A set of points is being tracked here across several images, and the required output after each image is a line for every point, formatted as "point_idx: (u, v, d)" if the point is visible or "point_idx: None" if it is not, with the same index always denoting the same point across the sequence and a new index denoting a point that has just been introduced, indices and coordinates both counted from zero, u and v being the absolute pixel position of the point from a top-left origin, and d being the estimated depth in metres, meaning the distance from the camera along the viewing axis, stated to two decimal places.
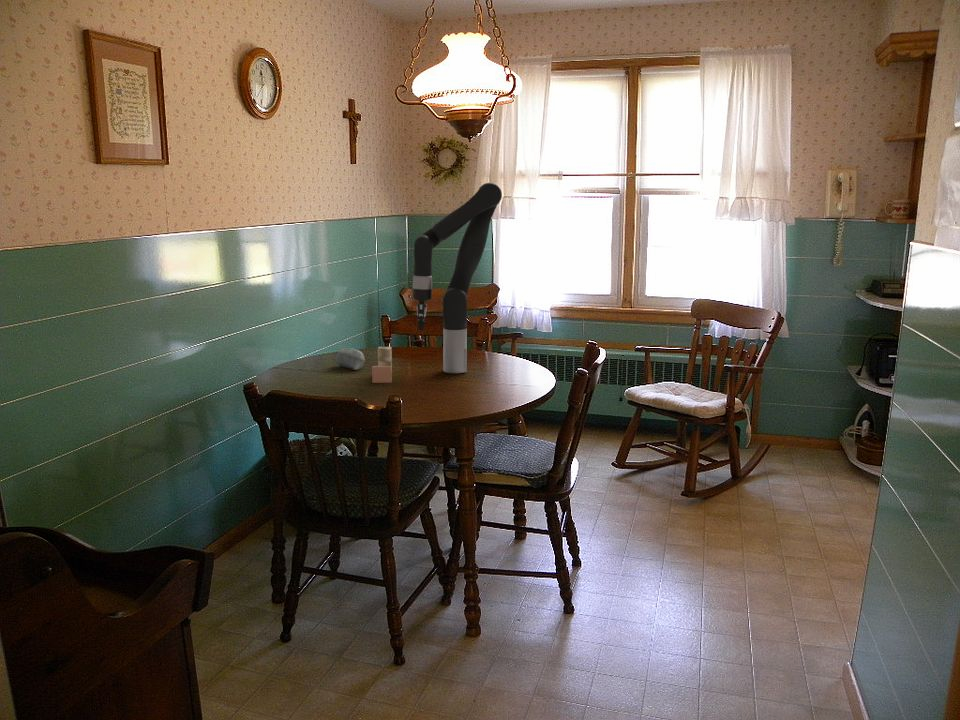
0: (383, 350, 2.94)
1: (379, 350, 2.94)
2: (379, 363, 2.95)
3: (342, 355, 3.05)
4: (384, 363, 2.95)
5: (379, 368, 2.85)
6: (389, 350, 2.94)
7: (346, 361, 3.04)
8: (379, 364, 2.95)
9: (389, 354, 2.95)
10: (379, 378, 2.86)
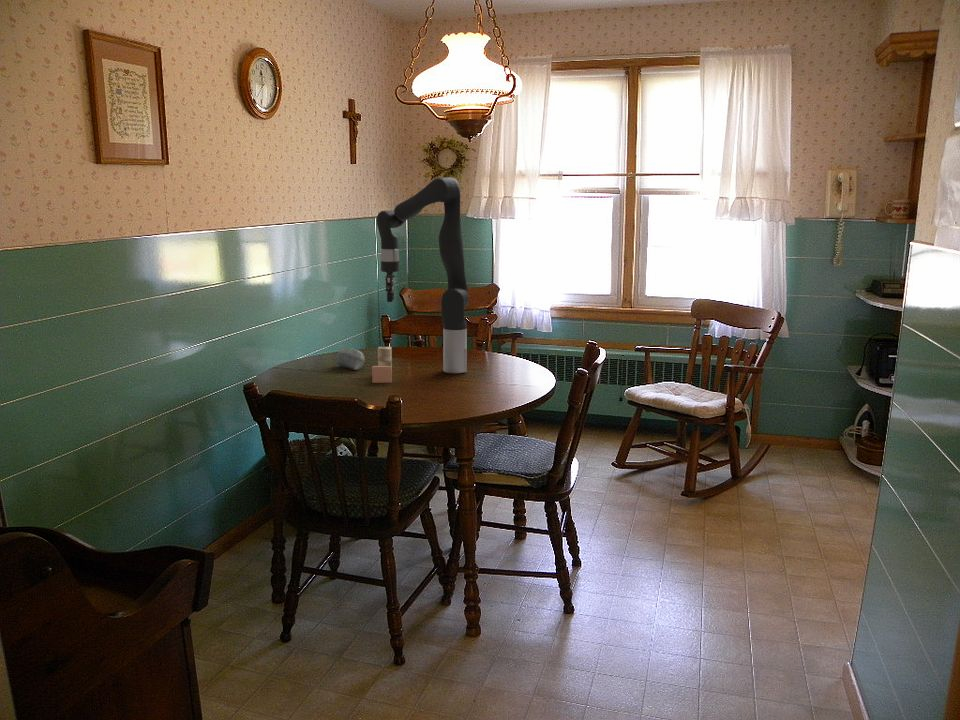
0: (383, 350, 2.94)
1: (379, 350, 2.94)
2: (379, 363, 2.95)
3: (342, 355, 3.05)
4: (384, 363, 2.95)
5: (379, 368, 2.85)
6: (389, 350, 2.94)
7: (346, 361, 3.04)
8: (379, 364, 2.95)
9: (389, 354, 2.95)
10: (379, 378, 2.86)
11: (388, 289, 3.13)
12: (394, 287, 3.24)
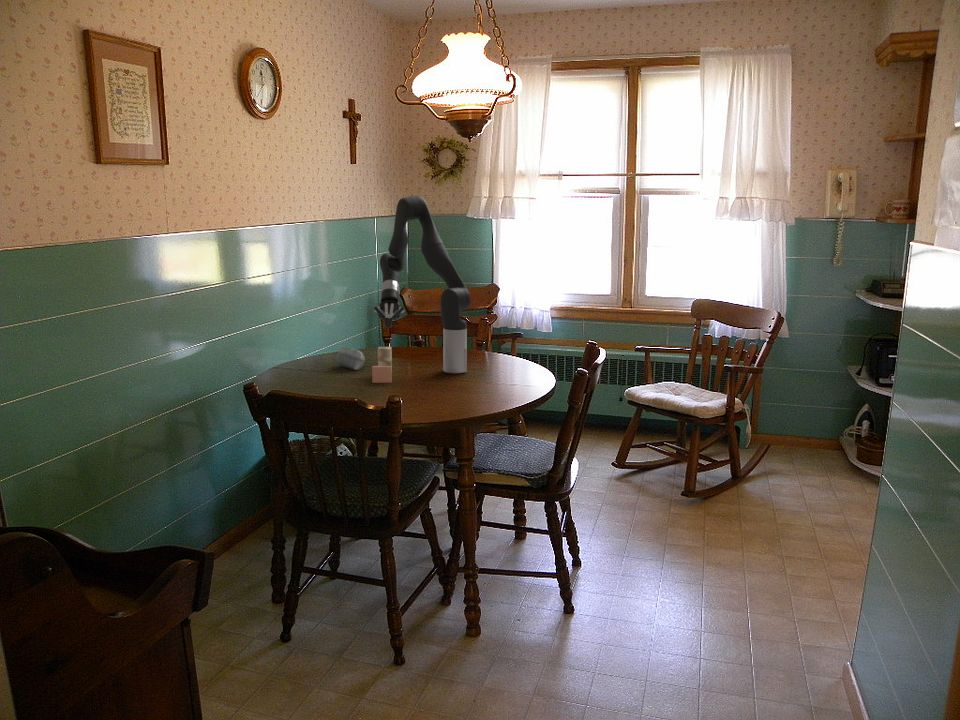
0: (383, 350, 2.94)
1: (379, 350, 2.94)
2: (379, 363, 2.95)
3: (342, 355, 3.05)
4: (384, 363, 2.95)
5: (379, 368, 2.85)
6: (389, 350, 2.94)
7: (346, 361, 3.04)
8: (379, 364, 2.95)
9: (389, 354, 2.95)
10: (379, 378, 2.86)
11: (381, 316, 3.16)
12: (394, 315, 3.15)
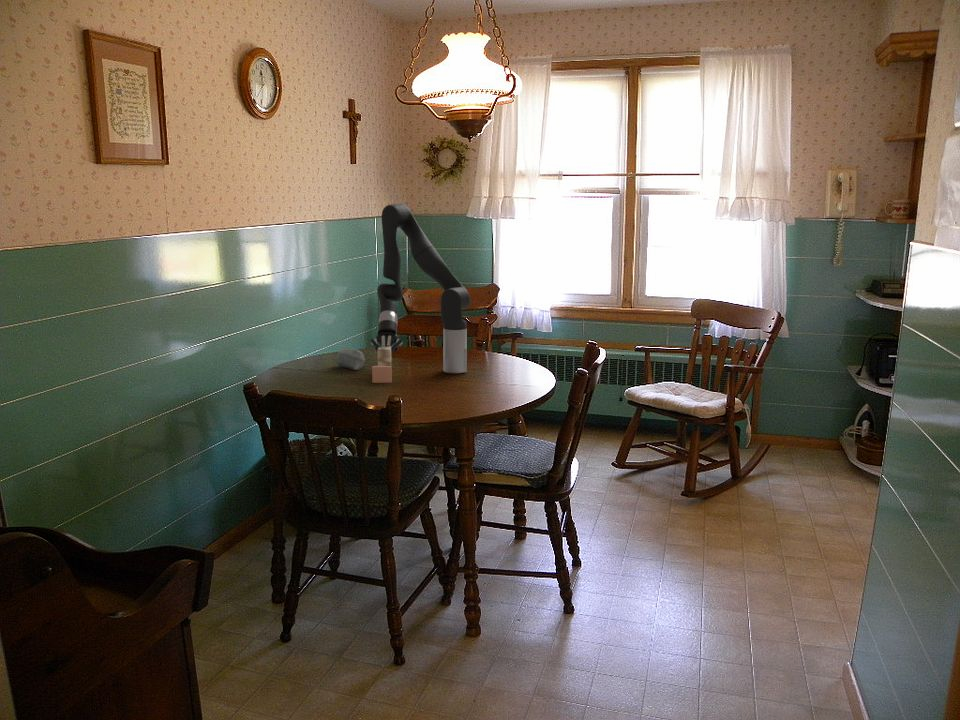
0: (383, 351, 2.93)
1: (379, 351, 2.93)
2: (379, 364, 2.94)
3: (342, 355, 3.05)
4: (384, 364, 2.94)
5: (379, 368, 2.85)
6: (389, 351, 2.93)
7: (346, 361, 3.04)
8: (379, 365, 2.94)
9: (389, 355, 2.93)
10: (379, 378, 2.86)
11: None
12: (392, 347, 3.00)
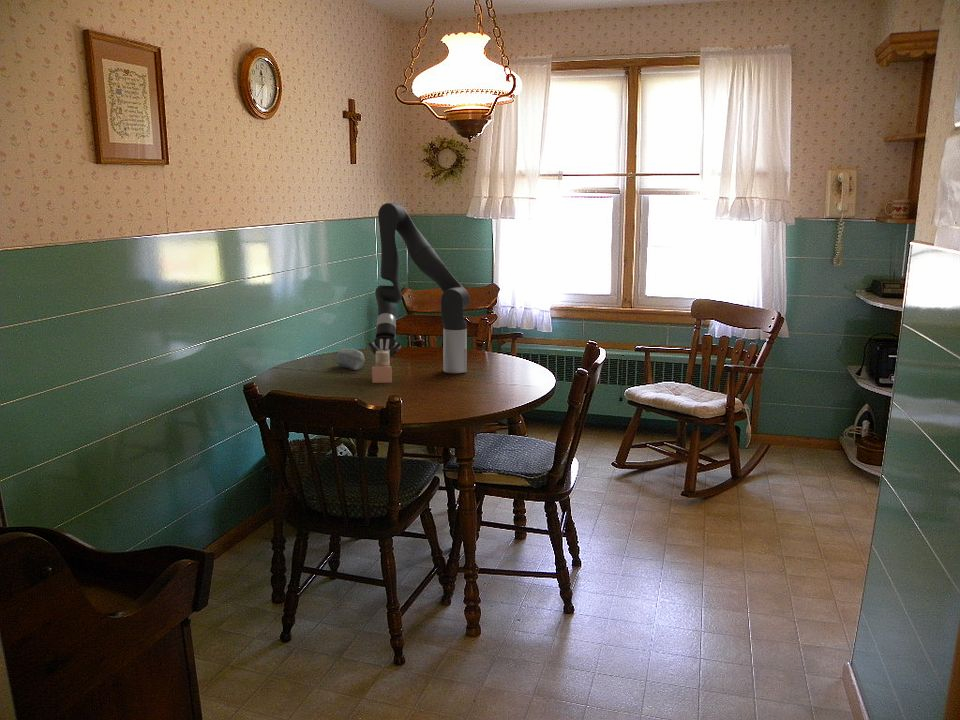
0: (381, 354, 2.86)
1: (377, 354, 2.86)
2: None
3: (342, 355, 3.05)
4: None
5: (379, 368, 2.85)
6: (387, 354, 2.86)
7: (346, 361, 3.04)
8: None
9: (387, 359, 2.86)
10: (379, 378, 2.86)
11: None
12: (390, 351, 2.93)
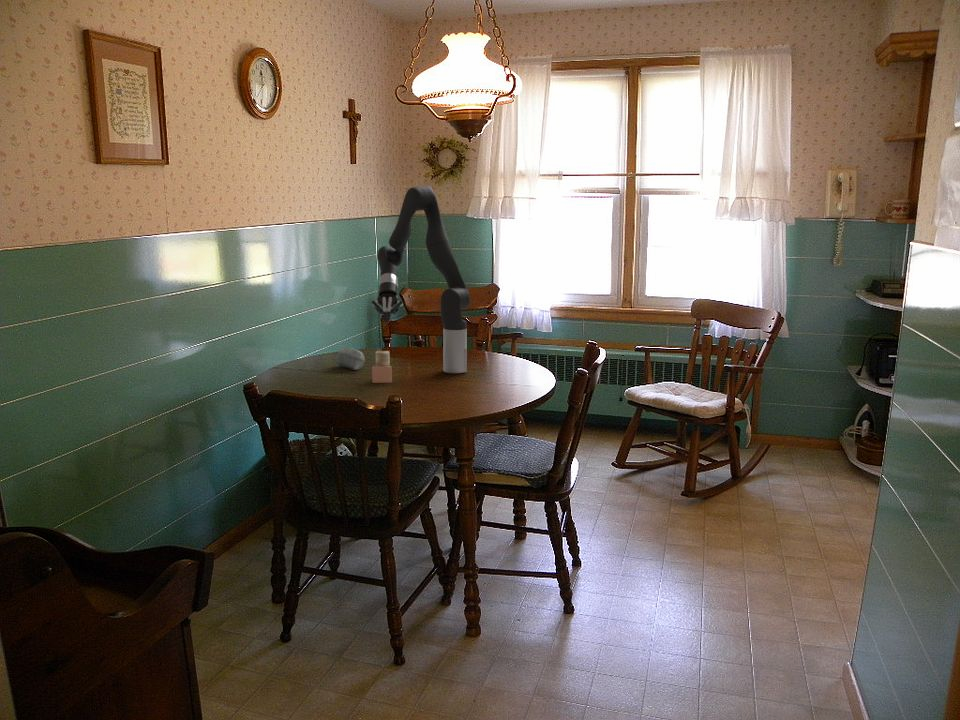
0: (381, 354, 2.86)
1: (377, 354, 2.86)
2: None
3: (342, 355, 3.05)
4: None
5: (379, 368, 2.85)
6: (387, 354, 2.86)
7: (346, 361, 3.04)
8: None
9: (387, 358, 2.86)
10: (379, 378, 2.86)
11: (379, 310, 3.06)
12: (392, 308, 3.04)
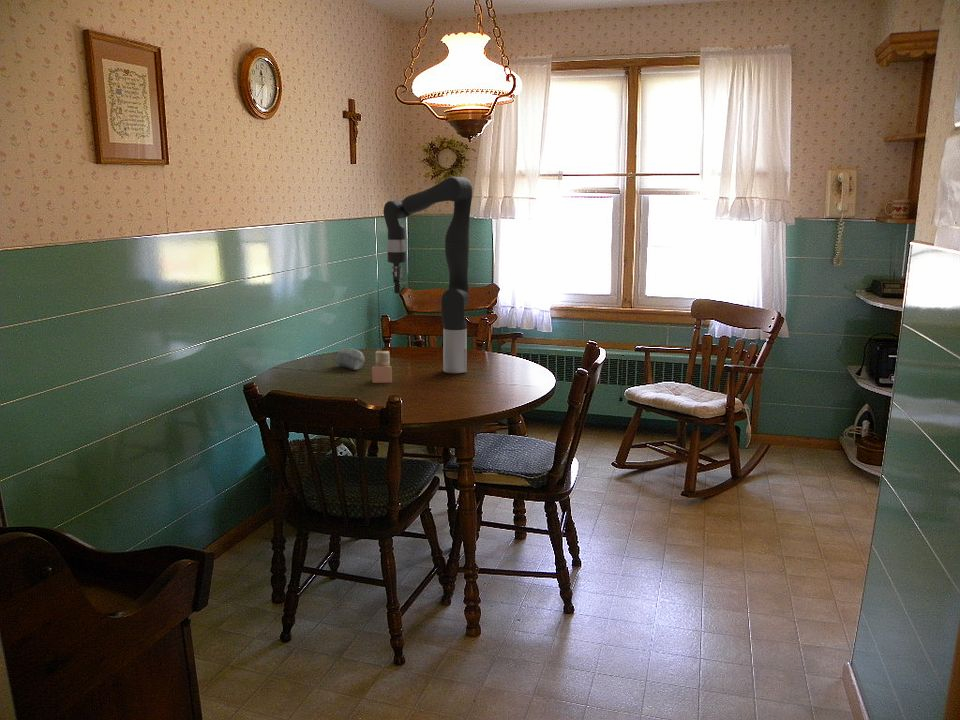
0: (381, 354, 2.86)
1: (377, 354, 2.86)
2: None
3: (342, 355, 3.05)
4: None
5: (379, 368, 2.85)
6: (387, 354, 2.86)
7: (346, 361, 3.04)
8: None
9: (387, 358, 2.86)
10: (379, 378, 2.86)
11: (395, 280, 3.13)
12: (400, 279, 3.19)
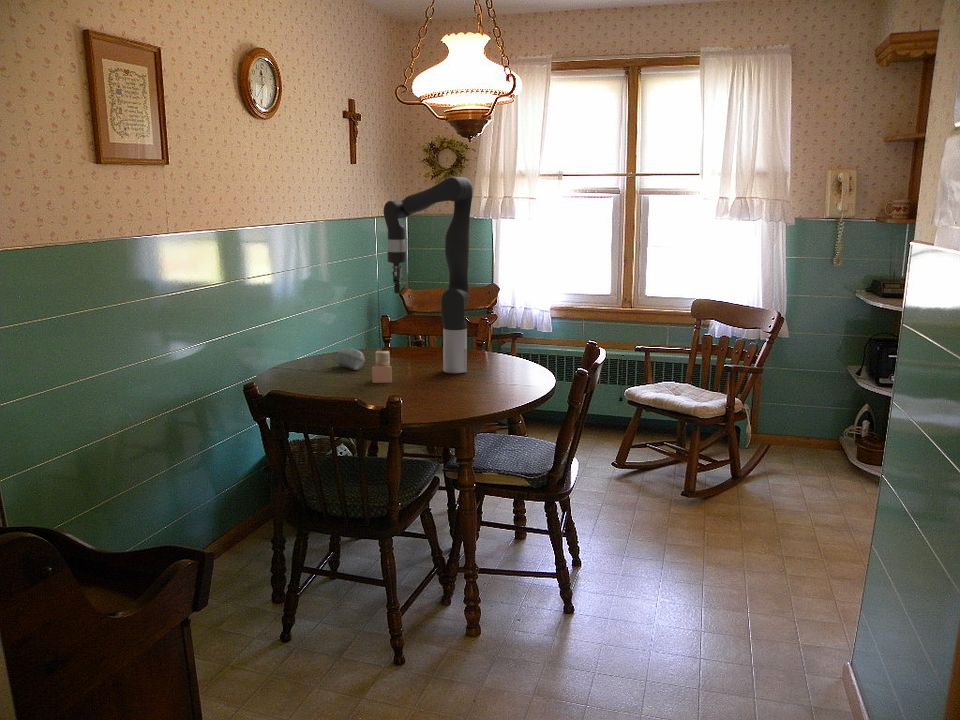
0: (381, 354, 2.86)
1: (377, 354, 2.86)
2: None
3: (342, 355, 3.05)
4: None
5: (379, 368, 2.85)
6: (387, 354, 2.86)
7: (346, 361, 3.04)
8: None
9: (387, 358, 2.86)
10: (379, 378, 2.86)
11: (395, 280, 3.13)
12: (400, 279, 3.19)
